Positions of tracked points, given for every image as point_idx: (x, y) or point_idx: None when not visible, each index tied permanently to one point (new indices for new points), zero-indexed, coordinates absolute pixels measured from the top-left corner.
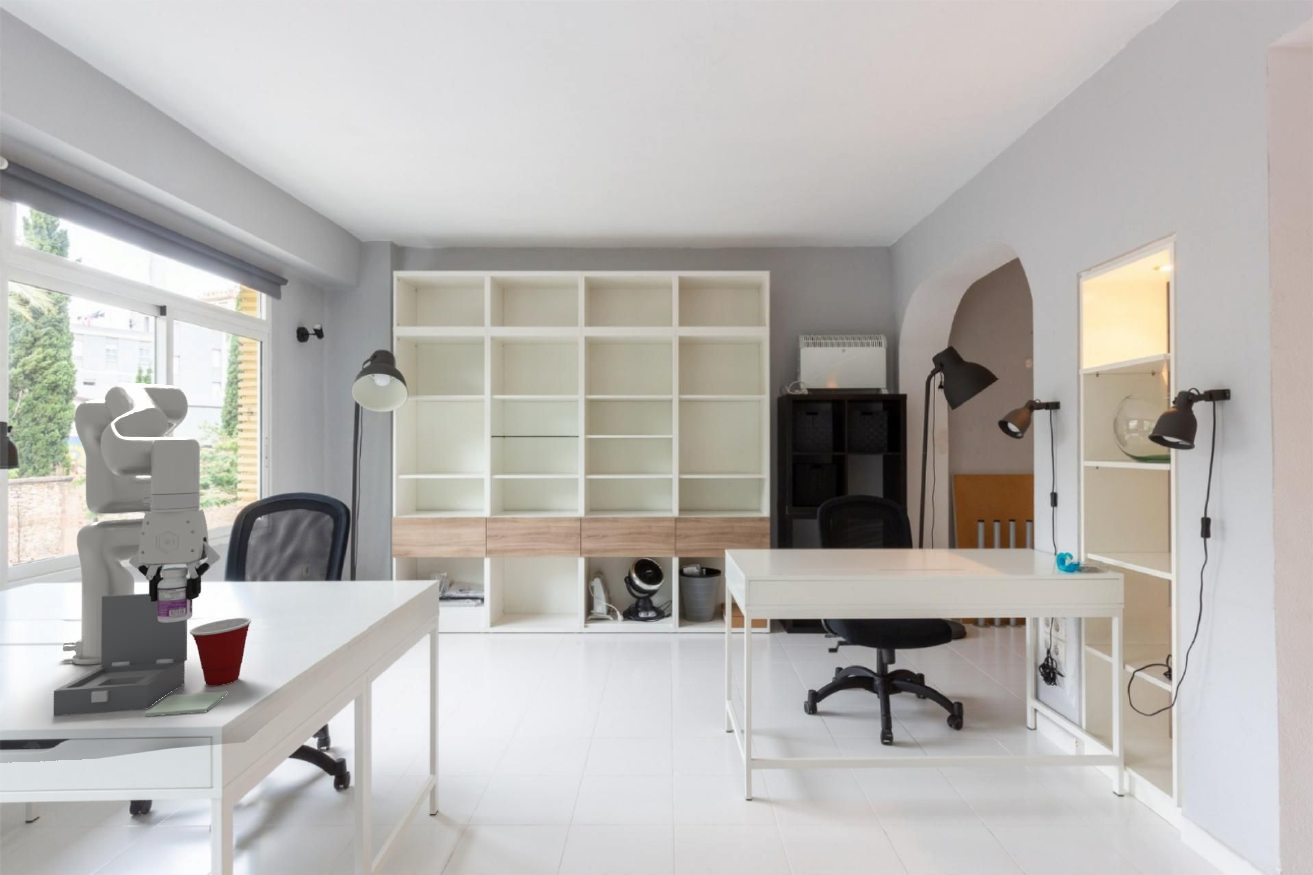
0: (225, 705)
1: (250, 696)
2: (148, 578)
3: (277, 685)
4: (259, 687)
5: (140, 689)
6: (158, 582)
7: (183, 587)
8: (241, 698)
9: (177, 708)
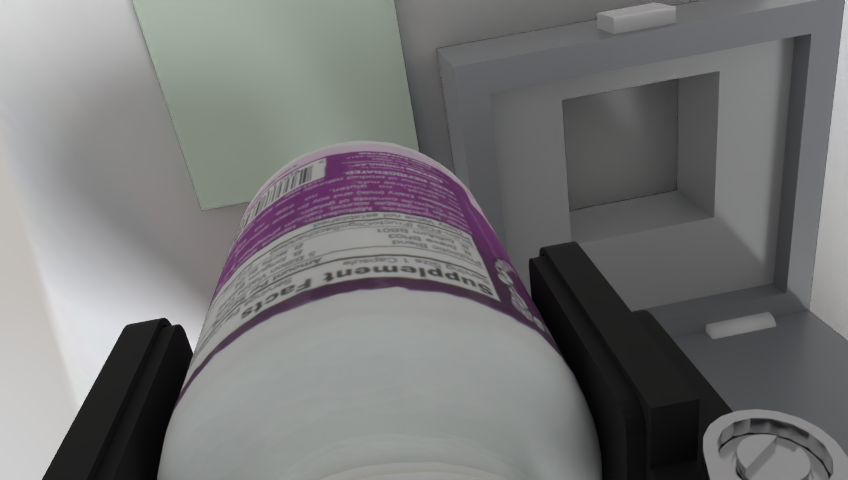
0: (111, 80)
1: (81, 185)
2: (776, 444)
3: (63, 306)
4: (126, 284)
5: (479, 58)
6: (609, 456)
7: (178, 403)
8: (104, 162)
9: (275, 9)
